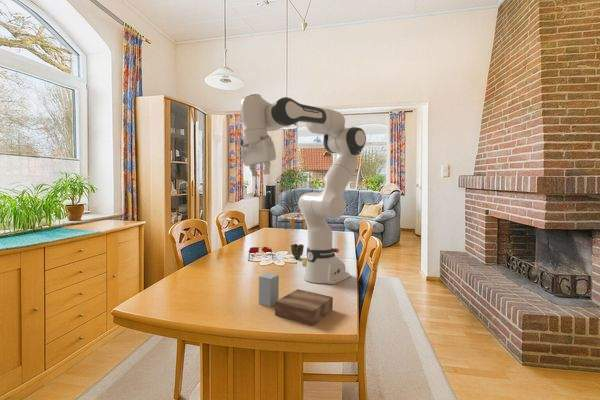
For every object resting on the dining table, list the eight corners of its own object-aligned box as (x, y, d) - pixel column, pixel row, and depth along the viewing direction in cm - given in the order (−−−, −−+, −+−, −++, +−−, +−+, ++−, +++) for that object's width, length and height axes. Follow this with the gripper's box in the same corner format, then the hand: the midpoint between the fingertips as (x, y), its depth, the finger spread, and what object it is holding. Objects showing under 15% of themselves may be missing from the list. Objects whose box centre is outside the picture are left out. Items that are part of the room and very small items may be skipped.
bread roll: (299, 264, 166) (299, 257, 165) (315, 263, 168) (315, 256, 168) (304, 268, 158) (304, 260, 158) (321, 267, 161) (321, 259, 160)
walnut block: (297, 302, 113) (297, 289, 113) (332, 311, 106) (332, 297, 106) (275, 316, 101) (275, 301, 101) (312, 327, 94) (313, 311, 94)
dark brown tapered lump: (305, 257, 179) (305, 244, 179) (301, 260, 172) (301, 246, 172) (292, 256, 181) (292, 243, 181) (288, 259, 174) (289, 245, 174)
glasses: (271, 254, 188) (272, 246, 188) (273, 261, 172) (273, 252, 172) (248, 254, 186) (248, 246, 186) (248, 261, 170) (248, 252, 170)
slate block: (258, 304, 110) (259, 276, 110) (267, 299, 115) (267, 272, 114) (270, 307, 108) (270, 278, 107) (278, 302, 112) (278, 275, 111)
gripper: (277, 133, 110) (282, 172, 111) (251, 143, 127) (256, 176, 127) (262, 133, 106) (266, 173, 107) (237, 143, 123) (241, 178, 124)
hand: (260, 175), depth 117 cm, fingers open, 8 cm apart
